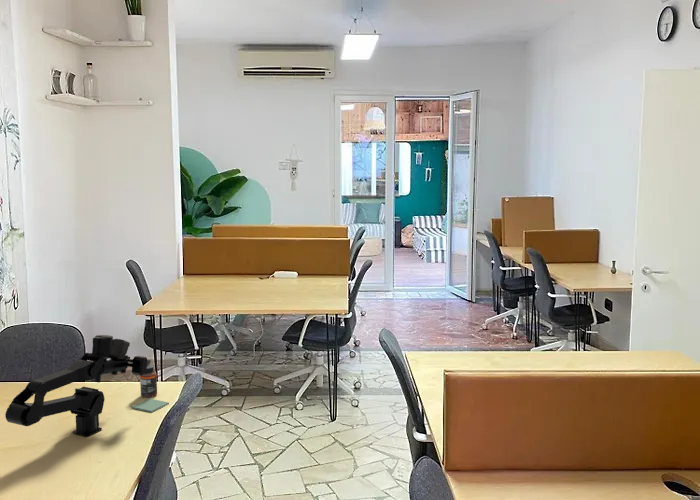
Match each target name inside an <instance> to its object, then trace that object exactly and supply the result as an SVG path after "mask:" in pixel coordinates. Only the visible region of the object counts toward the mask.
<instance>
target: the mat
mask: <svg viewBox="0 0 700 500" xmlns="http://www.w3.org/2000/svg"><path fill="white" fill-rule="evenodd" d="M167 404H168V405H169V404H170V402H169V401H164V400H159V399H153V398H151V397H149V398H146V399H145V400H143V401H141V402H139V403H136V404H134V405H133V406H131V409H132V410H133V409H134V410H139V411H143V412H147V413H151V414H152V413H154V412H156V411H158V410H161V408H164V407H166V406H168V405H167ZM165 405H166V406H165ZM163 406H164V407H163Z"/></svg>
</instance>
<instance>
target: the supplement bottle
mask: <svg viewBox="0 0 700 500" xmlns="http://www.w3.org/2000/svg"><path fill="white" fill-rule="evenodd" d="M157 378H158V377H157V372H156V370H154V365H152V364H149V365H148V367H147V369H146V374H145V375H143V376H139V381H140V382H139V383H140V384H139V385H140V396H141V397H142V398H144V399H145V398H146V399H149V398H153V397H156V396H157V395H158V383H157V382H158V381H157V380H158V379H157Z"/></svg>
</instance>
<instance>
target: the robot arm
mask: <svg viewBox="0 0 700 500" xmlns="http://www.w3.org/2000/svg"><path fill="white" fill-rule="evenodd" d="M130 344H131V343H130V342H129V341H127V340H124V339H121V338H114V336H113V335H107V334H105V335H104V334H97V335H95V336H94V337H93V338H92V347H91V349H92V350H91V352H85V353H84V354H83V355H82V356H81V357H80V358H79V359H78V360H76V361H74V362H73V363H71V364H70V365H69V366H68V368H66V369H64V370H60V371H58V372H55V373H52V374H50V375H47V376H44V377H41V378H38V379H34V380H31V381H29V382H28V383H27V384H26V386H25V388H24V389H22V390H21V391H20V393H18V394H16V395H15V397H13V399H12V400H11V402H10V404H9V405H8V407H7V409H6V411H5V419H6V421H7V423H11V424H15V425H20V426H24V427H30V426H32V425H35V424H36V423H39V422H40V421H41V420H42V419H43V418H45V417H50V416H53V415H58V414H61V413H66V412H69V411H70V413H71V414H73V415H75V430H73V431H72V434H74V435H79V436H83V437H85V438H86V437H90V436H91V435H94V434H96V433H98V432H100V431H103V428H102V427H100V421H99V420H100V419H99V418H100V416H99V415H101V414H102V412H103V409H104V404H105V395H104V392H103V391H102V390H99V389H97V388H93V387H88V386H81V387H80V388H74V392H73V394H72V395H68V396H65V397H59V398H55V399H49V400H46V401H45V396H46V395H47V394H48V393H49V392H51V391H55V390H57V389H60V388H63V387H65V386H67V385H69V384H70V385H71V384H72V383H75V382H87V381H91V382H95V383H97V384H98V383H101V379H102V376H107V375H114V376H117V375H118V373H122V374H125V373H127V372H126V371H127V369H128V367H131V373H132V374H133V376H134V375H135V376H139V377H140V376H143V375H145V374H146V369H147V367H148V365H151V362H152V361H151V360H150V359H148V357H147V356H142V355H141V356H140V355H136V356H134V357H133V358H131V357H130V356H129V355H127V353H128V350H129V347H130ZM33 396H34V397H33ZM31 397H33V398H34V399H33V402H27V401H28V400H30V399H31Z"/></svg>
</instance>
